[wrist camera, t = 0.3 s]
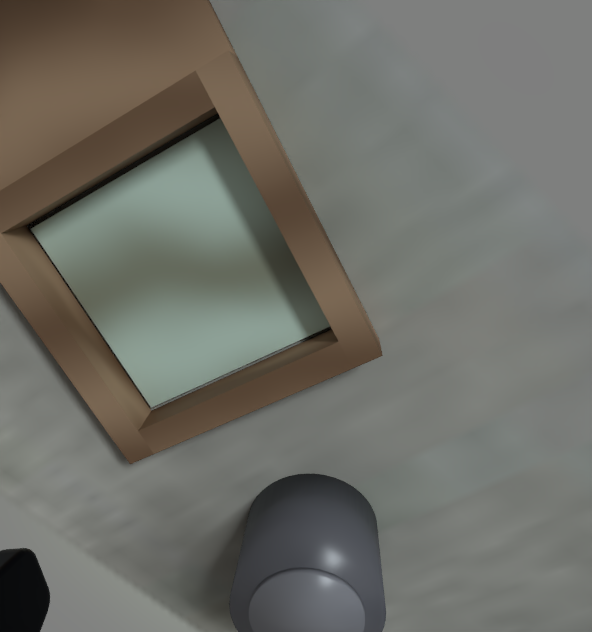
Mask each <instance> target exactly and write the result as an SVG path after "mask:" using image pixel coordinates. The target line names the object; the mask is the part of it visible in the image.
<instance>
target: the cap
mask: <svg viewBox="0 0 592 632" xmlns="http://www.w3.org/2000/svg"><path fill="white" fill-rule="evenodd" d="M229 606H230V614H231V618H232V621H233V623H234V625H235V627H236V629H237V630H238V632H382V630H383V628H384V624H385V620H386V608H385V598H384V588H383V578H382V569H381V559H380V549H379V539H378V529H377V521H376V517H375V513H374V511H373V509H372V507H371V505H370V504H369V502H368V501H367V499H366V498H365V497H364V496H363V495H362V494H361V493H360V492H359V491H358V490H356V489H355V488H354V487H352V486H351V485H349V484H347V483H345V482H343V481H341V480H339V479H336V478H334V477H330V476H326V475H320V474H298V475H293V476H288V477H285V478H282V479H280V480H278V481H276V482H274V483H272V484H271V485H269V486H267V487H266V488H265V489H264V490H263V491H262V492H261V493H260V494H259V495H258V496H257V498H256V499H255V501H254V502H253V504H252V506H251V509H250V512H249V516H248V521H247V525H246V529H245V534H244V538H243V542H242V547H241V551H240V555H239V560H238V564H237V569H236V573H235V577H234V582H233V586H232V590H231V595H230V603H229Z"/></svg>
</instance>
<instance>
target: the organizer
mask: <svg viewBox="0 0 592 632" xmlns="http://www.w3.org/2000/svg"><path fill="white" fill-rule="evenodd" d="M217 113H218V114H219V116H220V119H218V120H216V121H214V122H213V123H211V124H209V125H208V126H206V127H204V128H202V129H201V130H199V131H197V132H196V133H194V134H192V135H190V136H189V137H187V138H185V139H184V140H182V141H180V142H178V143H177V144H175V145H173V146H172V147H170V148H168V149H167V150H165V151H163V152H161V153H160V154H158V155H156V156H155V157H153V158H151V159H149V160H148V161H146V162H144V163H143V164H141V165H139V166H137V167H136V168H134V169H132V170H131V171H129V172H127V173H125V174H124V175H122V176H120V177H119V178H117V179H115V180H113V181H112V182H110V183H108V184H107V185H105V186H103V187H101V188H100V189H98V190H96V191H95V192H93V193H91V194H89V195H88V196H86V197H84V198H83V199H81V200H79V201H77V202H76V203H74V204H72V205H71V206H69V207H67V208H65V209H64V210H62V211H60V212H59V213H57V214H55V215H53V216H52V217H50V218H48V219H47V220H45V221H43V222H42V223H40V224H38V225H36V226H35V227H33V228H31V230H32V232H33V233H34V235H35V236H36V238H37V239H38V241H39V242H40V244H41V245H42V247H43V248H44V250H45V251H46V252H47V254H48V255H49V257H50V258H51V260H52V261H53V263H54V264H55V266H56V267H57V269H58V270H59V272H60V273H61V275H62V276H63V278H64V279H65V281H66V282H67V284H68V285H69V287H70V288H71V290H72V291H73V293H74V294H75V295H76V297H77V298H78V300H79V301H80V303H81V304H82V306H83V307H84V309H85V310H86V312H87V313H88V315H89V316H90V318H91V319H92V321H93V322H94V324H95V325H96V327H97V328H98V330H99V331H100V333H101V334H102V336H103V337H104V339H105V340H106V341H107V343H108V344H109V346H110V347H111V349H112V350H113V352H114V353H115V355H116V356H117V358H118V359H119V361H120V362H121V364H122V365H123V367H124V368H125V370H126V371H127V373H128V374H129V376H130V377H131V379H132V380H133V382H134V383H135V384H136V386H137V387H138V389H139V390H140V392H141V393H142V395H143V396H144V398H145V399H146V401H147V402H148V404H149V405H150V407H151V408H152V407H154V406H156V405H158V404H160V403H163V402H165V401H167V400H169V399H171V398H174V397H176V396H178V395H180V394H182V393H185V392H187V391H189V390H191V389H193V388H196V387H198V386H200V385H202V384H204V383H207V382H209V381H211V380H213V379H215V378H218V377H220V376H222V375H224V374H226V373H229V372H231V371H233V370H235V369H237V368H240V367H242V366H244V365H246V364H248V363H251V362H253V361H255V360H257V359H259V358H262V357H264V356H266V355H268V354H270V353H273V352H275V351H277V350H279V349H281V348H284V347H286V346H288V345H290V344H292V343H295V342H297V341H299V340H301V339H303V338H306V337H308V336H310V335H312V334H314V333H317V332H319V331H321V330H323V329H325V328H328V327H330V326H331V328H332V329H331V330H329V331H326V332H324V333H322V334H320V335H318V336H315V337H313V338H311V339H309V340H307V341H304V342H302V343H300V344H298V345H296V346H293V347H291V348H289V349H287V350H284V351H282V352H280V353H278V354H276V355H273V356H271V357H269V358H267V359H265V360H262V361H260V362H258V363H256V364H254V365H251V366H249V367H247V368H245V369H243V370H240V371H238V372H236V373H234V374H232V375H229V376H227V377H225V378H223V379H220V380H218V381H216V382H214V383H212V384H209V385H207V386H205V387H203V388H201V389H198V390H196V391H194V392H192V393H190V394H187V395H185V396H183V397H181V398H179V399H176V400H174V401H172V402H170V403H168V404H165V405H163V406H161V407H159V408H156V409H154V410H152V411H151V409H150V408H149V406H148V405H147V404H146V402H145V401H144V399H143V398H142V396H141V395H140V393H139V392H138V390H137V389H136V387H135V386H134V384H133V383H132V381H131V380H130V378H129V377H128V375H127V374H126V372H125V371H124V369H123V368H122V367H121V365H120V364H119V362H118V361H117V359H116V358H115V356H114V355H113V353H112V352H111V350H110V349H109V347H108V346H107V344H106V343H105V341H104V340H103V338H102V337H101V335H100V334H99V332H98V331H97V329H96V328H95V327H94V325H93V324H92V322H91V321H90V319H89V318H88V316H87V315H86V313H85V312H84V310H83V309H82V307H81V306H80V304H79V303H78V301H77V300H76V298H75V297H74V295H73V294H72V292H71V291H70V290H69V288H68V287H67V285H66V284H65V282H64V281H63V279H62V278H61V276H60V275H59V273H58V272H57V270H56V269H55V267H54V266H53V264H52V263H51V261H50V260H49V258H48V257H47V255H46V254H45V252H44V251H43V250H42V248H41V247H40V245H39V244H38V242H37V241H36V239H35V238H34V236H33V235H32V233H31V232H30V230H29V229H28V227H27V225H28V224H30V223H32V222H33V221H35V220H37V219H39V218H40V217H42V216H44V215H45V214H47V213H49V212H51V211H52V210H54V209H56V208H57V207H59V206H61V205H62V204H64V203H66V202H68V201H69V200H71V199H73V198H74V197H76V196H78V195H79V194H81V193H83V192H85V191H86V190H88V189H90V188H91V187H93V186H95V185H97V184H98V183H100V182H102V181H103V180H105V179H107V178H108V177H110V176H112V175H114V174H115V173H117V172H119V171H120V170H122V169H124V168H125V167H127V166H129V165H131V164H132V163H134V162H136V161H137V160H139V159H141V158H142V157H144V156H146V155H148V154H149V153H151V152H153V151H154V150H156V149H158V148H160V147H161V146H163V145H165V144H166V143H168V142H170V141H171V140H173V139H175V138H177V137H178V136H180V135H182V134H183V133H185V132H187V131H188V130H190V129H192V128H194V127H195V126H197V125H199V124H200V123H202V122H204V121H206V120H207V119H209V118H211V117H212V116H214V115H216V114H217ZM0 283H1V284H2V285H3V287H4V288H5V290H6V291H7V292H8V294H9V295H10V297H11V298H12V299H13V301H14V302H15V304H16V305H17V306H18V308H19V309H20V311H21V312H22V313H23V315H24V316H25V318H26V319H27V320H28V322H29V323H30V325H31V326H32V327H33V329H34V330H35V332H36V333H37V334H38V336H39V337H40V339H41V340H42V341H43V343H44V344H45V346H46V347H47V348H48V350H49V351H50V353H51V354H52V355H53V357H54V358H55V360H56V361H57V362H58V364H59V365H60V367H61V368H62V369H63V371H64V372H65V374H66V375H67V376H68V378H69V379H70V381H71V382H72V383H73V385H74V386H75V388H76V389H77V390H78V392H79V393H80V395H81V396H82V397H83V399H84V400H85V402H86V403H87V404H88V406H89V407H90V409H91V410H92V411H93V413H94V414H95V416H96V417H97V418H98V420H99V421H100V423H101V424H102V425H103V427H104V428H105V430H106V431H107V432H108V434H109V435H110V437H111V438H112V439H113V441H114V442H115V444H116V445H117V446H118V448H119V449H120V451H121V452H122V453H123V455H124V456H125V458H126V459H127V460H128V462H129V463H130V464H132V463H134V462H136V461H139V460H141V459H143V458H146V457H148V456H150V455H153V454H155V453H157V452H160V451H162V450H164V449H167V448H169V447H171V446H174V445H176V444H178V443H181V442H183V441H185V440H188V439H190V438H192V437H195V436H197V435H199V434H201V433H204V432H206V431H208V430H211V429H213V428H215V427H218V426H220V425H222V424H225V423H227V422H229V421H232V420H234V419H236V418H239V417H241V416H243V415H246V414H248V413H250V412H253V411H255V410H257V409H260V408H262V407H264V406H267V405H269V404H271V403H274V402H276V401H278V400H281V399H283V398H285V397H287V396H290V395H292V394H294V393H297V392H299V391H301V390H304V389H306V388H308V387H311V386H313V385H315V384H318V383H320V382H322V381H325V380H327V379H329V378H332V377H334V376H336V375H339V374H341V373H343V372H346V371H348V370H350V369H353V368H355V367H357V366H360V365H362V364H364V363H367V362H369V361H371V360H374V359H376V358H378V357H380V356H382V351H381V346H380V341H379V338H378V336H377V334H376V332H375V330H374V328H373V326H372V324H371V322H370V320H369V318H368V316H367V314H366V312H365V310H364V308H363V306H362V304H361V302H360V300H359V298H358V296H357V294H356V292H355V290H354V288H353V286H352V284H351V282H350V280H349V278H348V276H347V274H346V272H345V270H344V268H343V266H342V264H341V262H340V260H339V258H338V256H337V254H336V252H335V250H334V248H333V246H332V244H331V242H330V240H329V238H328V236H327V234H326V232H325V230H324V228H323V226H322V224H321V222H320V220H319V218H318V216H317V214H316V212H315V210H314V208H313V206H312V204H311V202H310V200H309V198H308V196H307V194H306V192H305V190H304V188H303V186H302V184H301V182H300V180H299V178H298V176H297V174H296V172H295V170H294V168H293V166H292V164H291V163H290V161H289V159H288V157H287V155H286V153H285V151H284V149H283V147H282V145H281V143H280V141H279V139H278V137H277V135H276V133H275V131H274V129H273V127H272V125H271V123H270V121H269V119H268V117H267V115H266V113H265V111H264V109H263V107H262V105H261V103H260V101H259V99H258V97H257V95H256V93H255V91H254V89H253V87H252V85H251V83H250V81H249V79H248V77H247V75H246V73H245V71H244V69H243V67H242V65H241V63H240V61H239V59H238V57H237V55H236V53H235V51H234V49H233V47H232V45H231V43H230V41H229V39H228V37H227V35H226V33H225V31H224V29H223V27H222V25H221V23H220V21H219V19H218V17H217V15H216V13H215V11H214V9H213V7H212V5H211V3H210V1H209V0H0Z"/></svg>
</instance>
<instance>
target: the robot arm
mask: <svg viewBox="0 0 592 632" xmlns="http://www.w3.org/2000/svg"><path fill="white" fill-rule="evenodd" d="M49 603H50V592H49V588H48V586H47V583H46V581H45V578H44V576H43V573H42V570H41V568H40V565H39V563H38V560H37V558H36V555H35V554H34V552H32V551H31V550H30V549H27V548H20V549H6V550H2V551H0V632H40V630H41V627H42V625H43V622H44V620H45V617H46V614H47V611H48V607H49Z"/></svg>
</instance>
